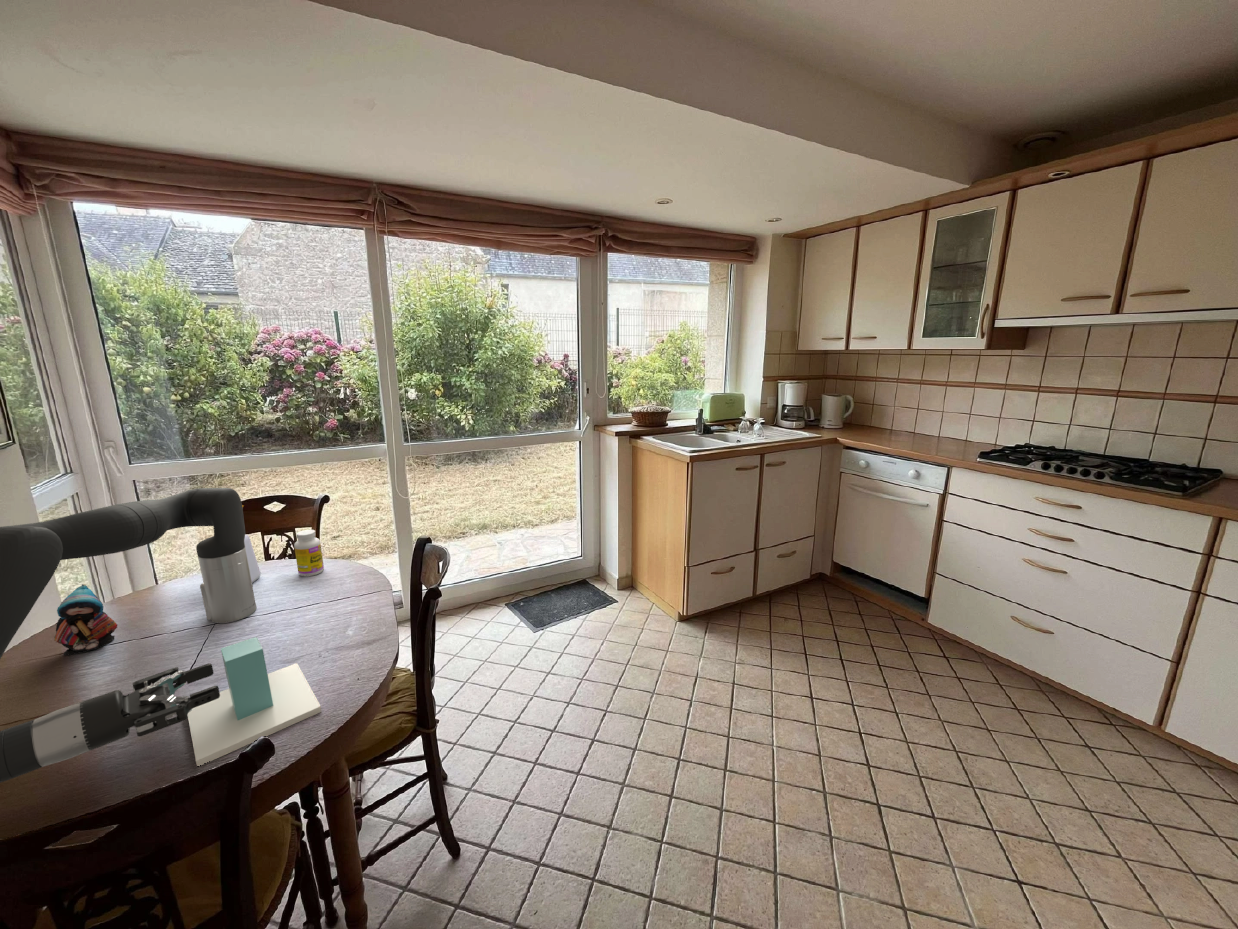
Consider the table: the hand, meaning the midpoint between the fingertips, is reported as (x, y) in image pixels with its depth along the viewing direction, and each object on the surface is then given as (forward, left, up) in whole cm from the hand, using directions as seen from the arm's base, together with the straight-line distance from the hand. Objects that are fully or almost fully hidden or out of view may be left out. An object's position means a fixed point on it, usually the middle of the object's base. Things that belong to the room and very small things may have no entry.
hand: (215, 679), depth 88 cm
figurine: (-48, +22, -9) cm, 54 cm away
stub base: (+3, +3, -9) cm, 10 cm away
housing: (+3, +3, -8) cm, 9 cm away
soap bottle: (-39, +55, -9) cm, 68 cm away
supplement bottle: (-22, +61, -9) cm, 66 cm away
